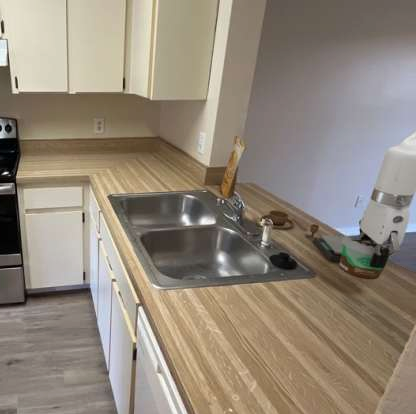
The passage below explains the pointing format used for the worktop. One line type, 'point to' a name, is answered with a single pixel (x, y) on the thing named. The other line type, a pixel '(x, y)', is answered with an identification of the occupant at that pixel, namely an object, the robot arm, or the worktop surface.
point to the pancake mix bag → (232, 168)
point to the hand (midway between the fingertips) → (369, 259)
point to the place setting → (282, 218)
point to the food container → (359, 258)
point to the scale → (327, 250)
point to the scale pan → (334, 243)
